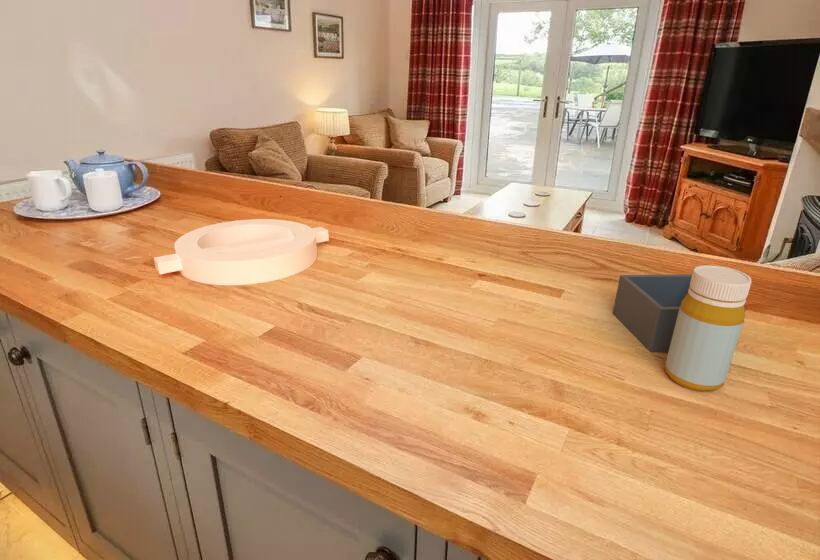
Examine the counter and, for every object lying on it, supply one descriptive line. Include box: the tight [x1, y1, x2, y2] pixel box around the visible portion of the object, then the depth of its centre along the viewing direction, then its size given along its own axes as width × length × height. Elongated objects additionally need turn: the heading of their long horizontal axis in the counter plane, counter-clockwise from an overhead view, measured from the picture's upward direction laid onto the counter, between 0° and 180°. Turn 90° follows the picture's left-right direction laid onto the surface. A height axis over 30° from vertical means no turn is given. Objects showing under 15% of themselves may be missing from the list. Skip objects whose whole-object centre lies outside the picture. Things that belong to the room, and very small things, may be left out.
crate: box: [612, 273, 747, 353], centre depth 76 cm, size 13×13×7 cm
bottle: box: [664, 264, 753, 393], centre depth 62 cm, size 7×7×15 cm
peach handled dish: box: [153, 218, 330, 286], centre depth 103 cm, size 28×28×5 cm
